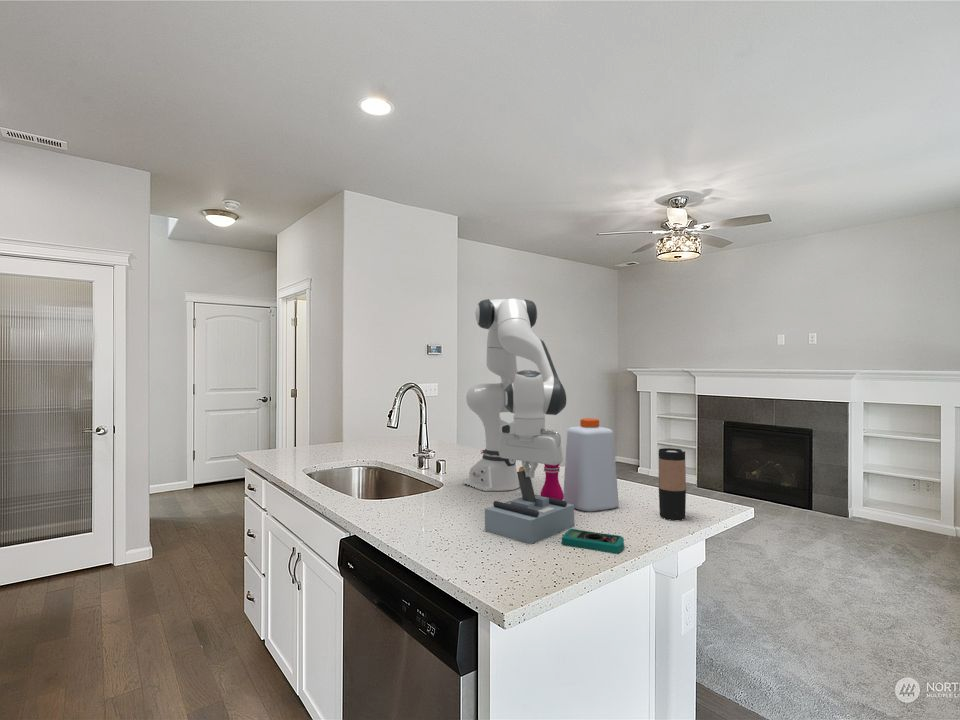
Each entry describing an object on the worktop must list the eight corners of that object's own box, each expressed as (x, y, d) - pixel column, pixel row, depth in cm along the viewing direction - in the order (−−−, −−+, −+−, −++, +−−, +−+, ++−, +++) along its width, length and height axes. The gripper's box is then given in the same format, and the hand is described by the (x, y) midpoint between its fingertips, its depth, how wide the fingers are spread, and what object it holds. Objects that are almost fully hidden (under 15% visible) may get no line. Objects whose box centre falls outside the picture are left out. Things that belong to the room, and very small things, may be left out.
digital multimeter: (620, 556, 120) (620, 544, 120) (560, 546, 127) (560, 534, 127) (626, 546, 127) (626, 535, 127) (569, 538, 134) (569, 526, 134)
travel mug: (654, 517, 150) (653, 450, 150) (665, 511, 155) (665, 447, 156) (679, 522, 144) (678, 453, 145) (690, 516, 150) (689, 450, 150)
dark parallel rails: (491, 506, 140) (491, 501, 140) (524, 496, 151) (524, 491, 151) (536, 518, 130) (536, 511, 130) (568, 506, 140) (568, 500, 140)
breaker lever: (524, 507, 140) (515, 468, 142) (530, 505, 142) (522, 466, 144) (530, 506, 138) (521, 466, 141) (537, 504, 140) (528, 465, 143)
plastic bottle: (624, 508, 159) (623, 420, 160) (583, 513, 154) (582, 422, 154) (596, 497, 173) (595, 416, 174) (558, 501, 168) (557, 418, 168)
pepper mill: (563, 513, 154) (562, 448, 154) (539, 512, 155) (539, 447, 156) (564, 507, 161) (563, 444, 161) (541, 506, 162) (541, 444, 163)
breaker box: (484, 530, 139) (484, 501, 139) (529, 514, 153) (529, 488, 153) (530, 544, 127) (530, 512, 128) (574, 525, 142) (574, 497, 142)
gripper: (566, 429, 136) (567, 480, 136) (508, 424, 150) (509, 471, 150) (553, 431, 132) (554, 484, 131) (495, 426, 146) (495, 474, 145)
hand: (529, 477), depth 141 cm, fingers closed
